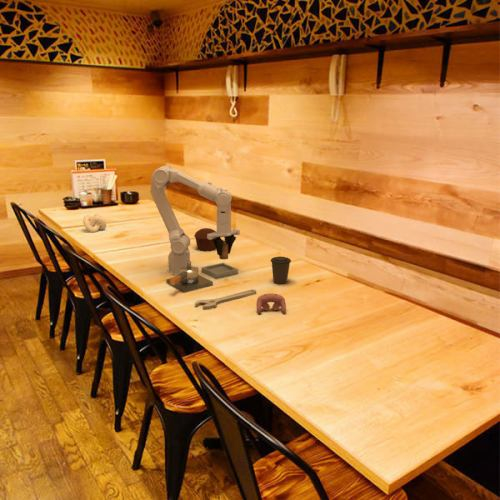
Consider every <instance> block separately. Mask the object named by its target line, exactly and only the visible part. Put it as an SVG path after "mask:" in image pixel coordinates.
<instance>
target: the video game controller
mask: <svg viewBox="0 0 500 500" xmlns="http://www.w3.org/2000/svg"><path fill="white" fill-rule="evenodd" d="M269 303H273V304H272V311H278V310H279V308H281V311H282V312H281V313H282V314H283V315H284V314H286V313H287V311H286V310H287V305H286V299H285V298H284V296H283V295H281V294H277V293H264V294H260V295H259V296H258V297H257V299H256V311H257V314H258V315H261V313H262V309H263V310H264V311H266V312H267V311H268V310H270V308H271V307H270V304H269Z"/></svg>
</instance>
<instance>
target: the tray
mask: <svg viewBox="0 0 500 500" xmlns="http://www.w3.org/2000/svg"><path fill="white" fill-rule="evenodd" d="M201 273H203V274H205V275H207V276H209V277H211V278H213V279H215V280H218V279H219V280H220V279H223V278H227V277H230V276H235V275H239V269H238V268H237V267H234V266H231V265H230V264H227V263H225V262H220V263H216V264H209V265H207V266H206V265H205V266H202V267H201Z"/></svg>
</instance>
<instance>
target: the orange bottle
mask: <svg viewBox="0 0 500 500" xmlns="http://www.w3.org/2000/svg"><path fill="white" fill-rule="evenodd" d="M223 240H224V241H223V245H222V255H221V256H220V255H218V258H219V260H228V259H229V254H228V243H226V241H225V239H223Z"/></svg>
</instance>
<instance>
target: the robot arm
mask: <svg viewBox="0 0 500 500" xmlns="http://www.w3.org/2000/svg"><path fill="white" fill-rule="evenodd" d="M150 179H151V180H150V181H151V182H150V192H149V193H150V195H151V197H152V199H153V201H154V204H155V206H156V208H157V210H158V213H159V215H160V217H161V219H162V221H163V223H164V226H165V228H166V231H167V232H168V240H169V243H170V252H169V253H168V256H167V257H168V259H167V263H168V269H167V270H166V272H168V273H170V274H171V275H173V276H174V277H175V276H177V275H178V274H180V269H181V268H182V267H187V261H191V257H190V256H191V253H190V249H189V247H190V245H191V238H190V237H189V236H188V235H187V234H186V233H185V231H184V229H183V228H182V227H181V226H180V224H179V222H178V219H177V217H176V215H175V212H174V211H173V208H172V206H171V203H170V201H169V199H168V197H167V194H166V189H167V186H168V184H169V183H172V184H173V183H181V184H182V185H185V186H188V187H189V188H192V189H194V190H197V192H198V195H200V196H201V197H204V198H205V199H208V200H209V201H211V202H215V203H216V230H215V231H216V232H213V233H210V234H207V239H209V240H212V241H213V243H214V245H215V247H216V249H215V251H216V253H217V255H218V256H219V255H220V256H221V255H222V245H223V241H224V240H225V241H226V243H228V255H230V254H231V251H232V247H233V244H234V242H235V241H236V240H237V236H240V234H241V230H240V229H237V228H236V229H232V210H231V209H232V204H231V202H232V197H233V196H232V194H231V192H230V191H228V190H227V189H223V188H222V187H217V186H215V185H214V184H212V183H213V182H211V181H203V182H201V181H199V180H197V179H196V178H193V177H192V176H190V175H188V174H186V173H185V172H183V171H181V170H179V169H177V168H175V167H172V166H170V165H162V166H161V167H158V168H156V169H155V170H153V173H152V175H151V176H150ZM222 238H224V239H222Z"/></svg>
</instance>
